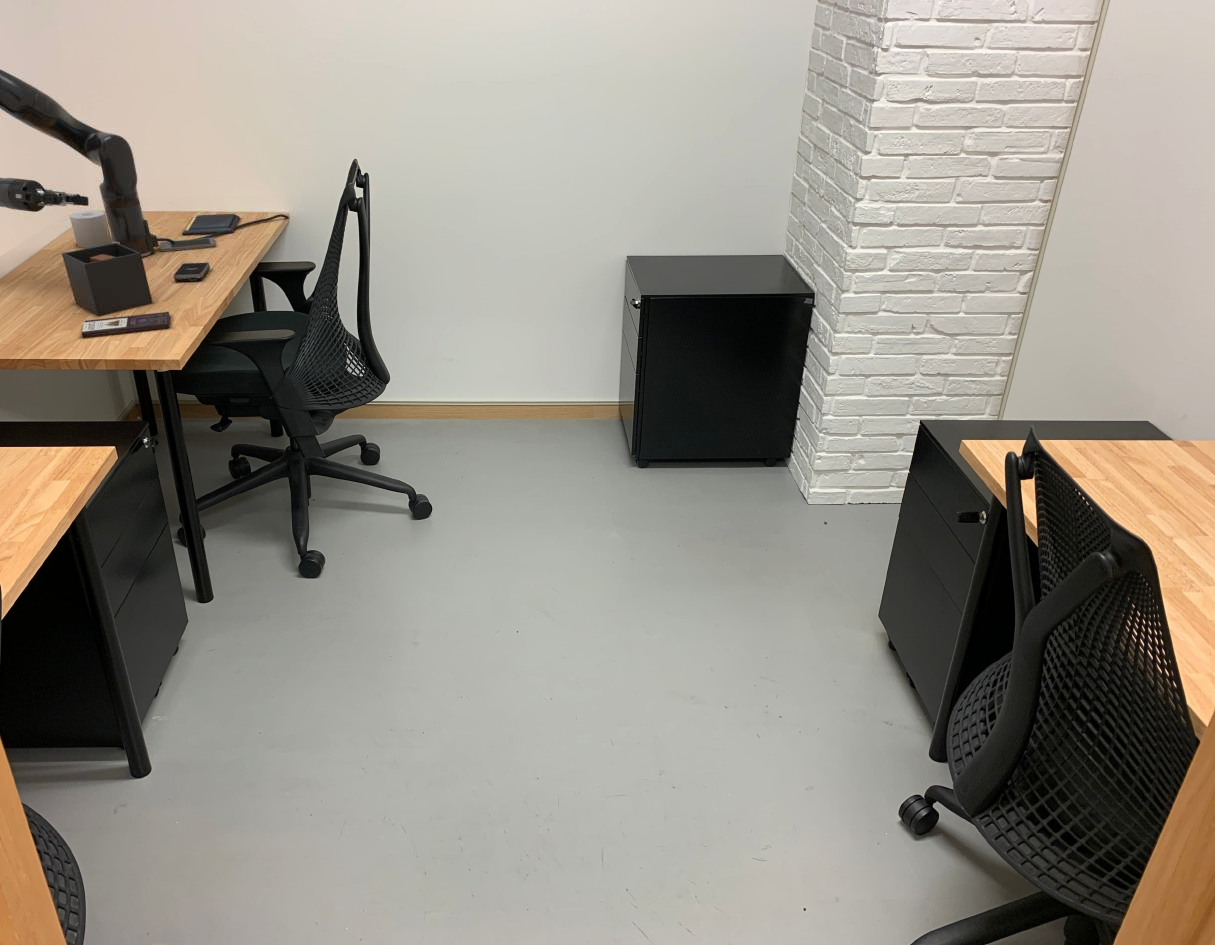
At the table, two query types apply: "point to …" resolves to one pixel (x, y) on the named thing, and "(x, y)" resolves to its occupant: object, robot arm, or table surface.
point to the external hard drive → (191, 272)
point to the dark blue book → (211, 224)
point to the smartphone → (187, 244)
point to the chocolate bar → (125, 324)
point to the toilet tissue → (90, 229)
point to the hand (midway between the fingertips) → (73, 200)
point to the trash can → (107, 279)
